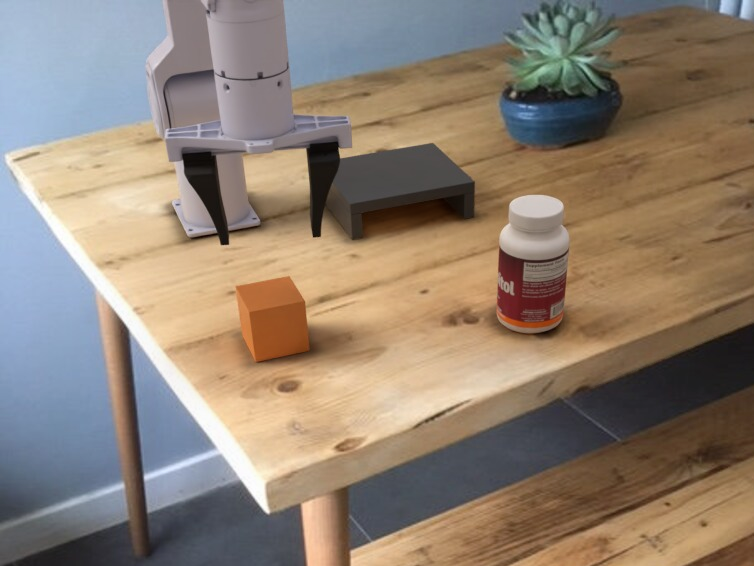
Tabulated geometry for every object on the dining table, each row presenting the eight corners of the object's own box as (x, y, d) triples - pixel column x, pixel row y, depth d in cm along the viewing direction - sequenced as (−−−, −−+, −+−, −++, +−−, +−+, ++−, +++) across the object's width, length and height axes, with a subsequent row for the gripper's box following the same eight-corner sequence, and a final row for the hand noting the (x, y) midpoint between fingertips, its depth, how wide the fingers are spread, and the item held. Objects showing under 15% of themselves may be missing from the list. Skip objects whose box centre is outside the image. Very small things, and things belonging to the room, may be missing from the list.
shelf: (318, 196, 118) (316, 162, 115) (433, 176, 121) (433, 142, 119) (352, 240, 110) (350, 203, 107) (474, 217, 113) (475, 181, 110)
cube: (242, 335, 95) (235, 286, 92) (294, 324, 97) (289, 275, 93) (255, 362, 92) (248, 312, 89) (309, 350, 93) (305, 300, 90)
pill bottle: (490, 304, 98) (494, 192, 91) (555, 299, 99) (564, 187, 92) (502, 338, 94) (507, 223, 87) (569, 333, 94) (580, 217, 87)
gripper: (152, 92, 75) (183, 265, 84) (352, 78, 76) (361, 250, 85) (156, 62, 80) (184, 227, 89) (342, 49, 82) (352, 213, 91)
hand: (270, 236), depth 88 cm, fingers open, 7 cm apart
